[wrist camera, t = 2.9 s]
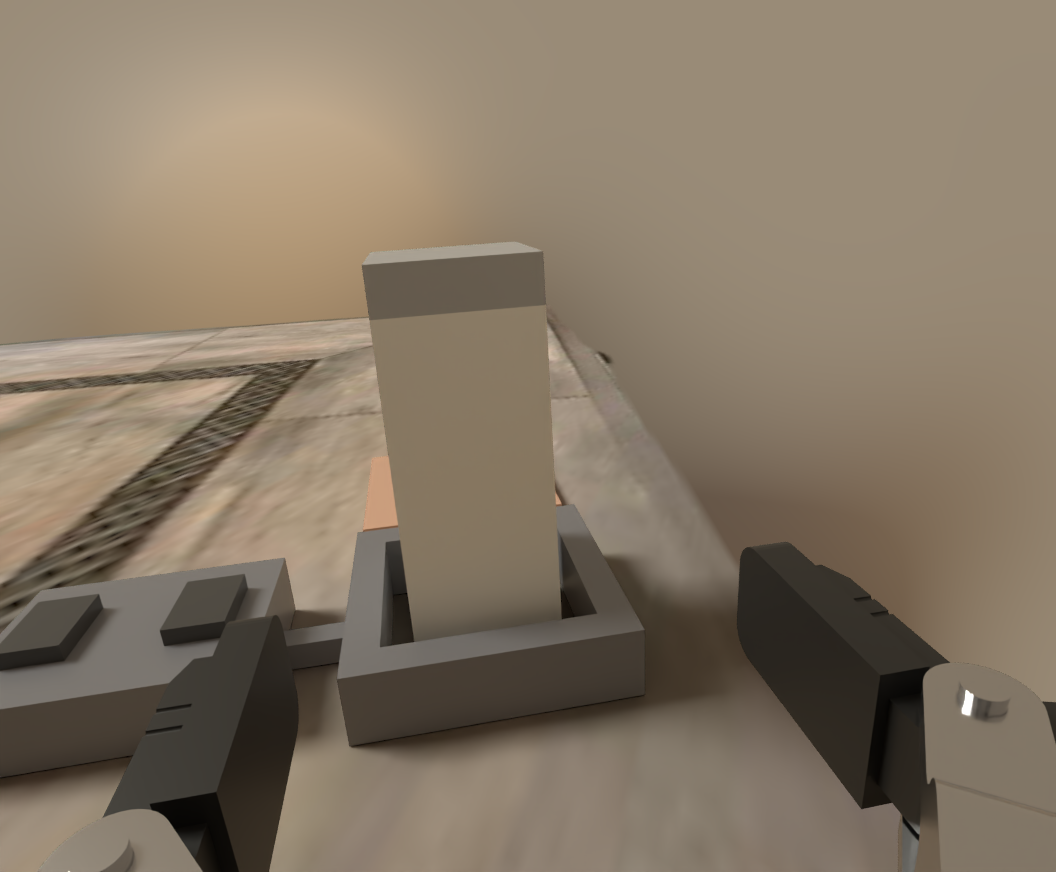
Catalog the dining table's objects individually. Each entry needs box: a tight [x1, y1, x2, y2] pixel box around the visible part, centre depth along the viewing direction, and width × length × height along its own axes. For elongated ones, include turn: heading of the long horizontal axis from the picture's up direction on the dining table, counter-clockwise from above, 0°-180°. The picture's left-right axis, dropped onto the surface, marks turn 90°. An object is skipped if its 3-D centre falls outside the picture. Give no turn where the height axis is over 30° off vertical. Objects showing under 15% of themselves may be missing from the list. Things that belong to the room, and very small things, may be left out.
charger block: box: [362, 242, 562, 642], centre depth 23 cm, size 5×5×14 cm
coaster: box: [363, 456, 562, 532], centre depth 39 cm, size 10×10×1 cm
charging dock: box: [0, 504, 645, 778], centre depth 24 cm, size 21×9×3 cm, turn 100°
